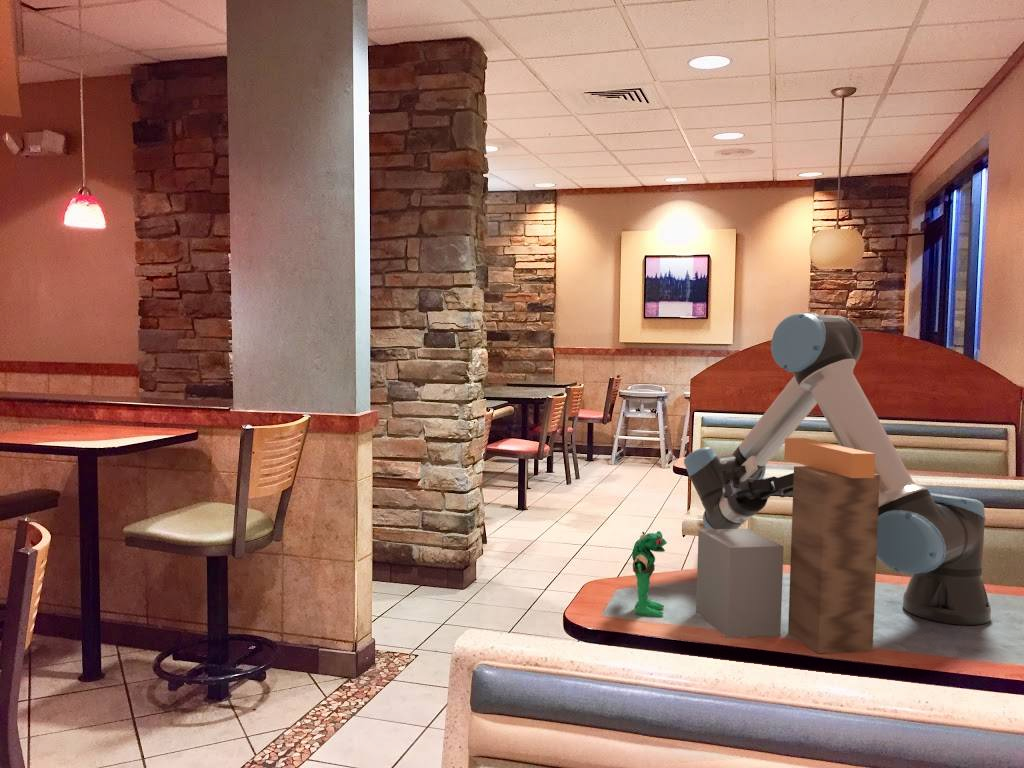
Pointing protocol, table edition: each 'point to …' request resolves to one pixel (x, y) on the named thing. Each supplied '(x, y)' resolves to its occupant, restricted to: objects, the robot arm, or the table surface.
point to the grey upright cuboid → (739, 582)
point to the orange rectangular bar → (830, 457)
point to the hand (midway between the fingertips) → (788, 462)
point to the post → (833, 560)
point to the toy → (646, 571)
